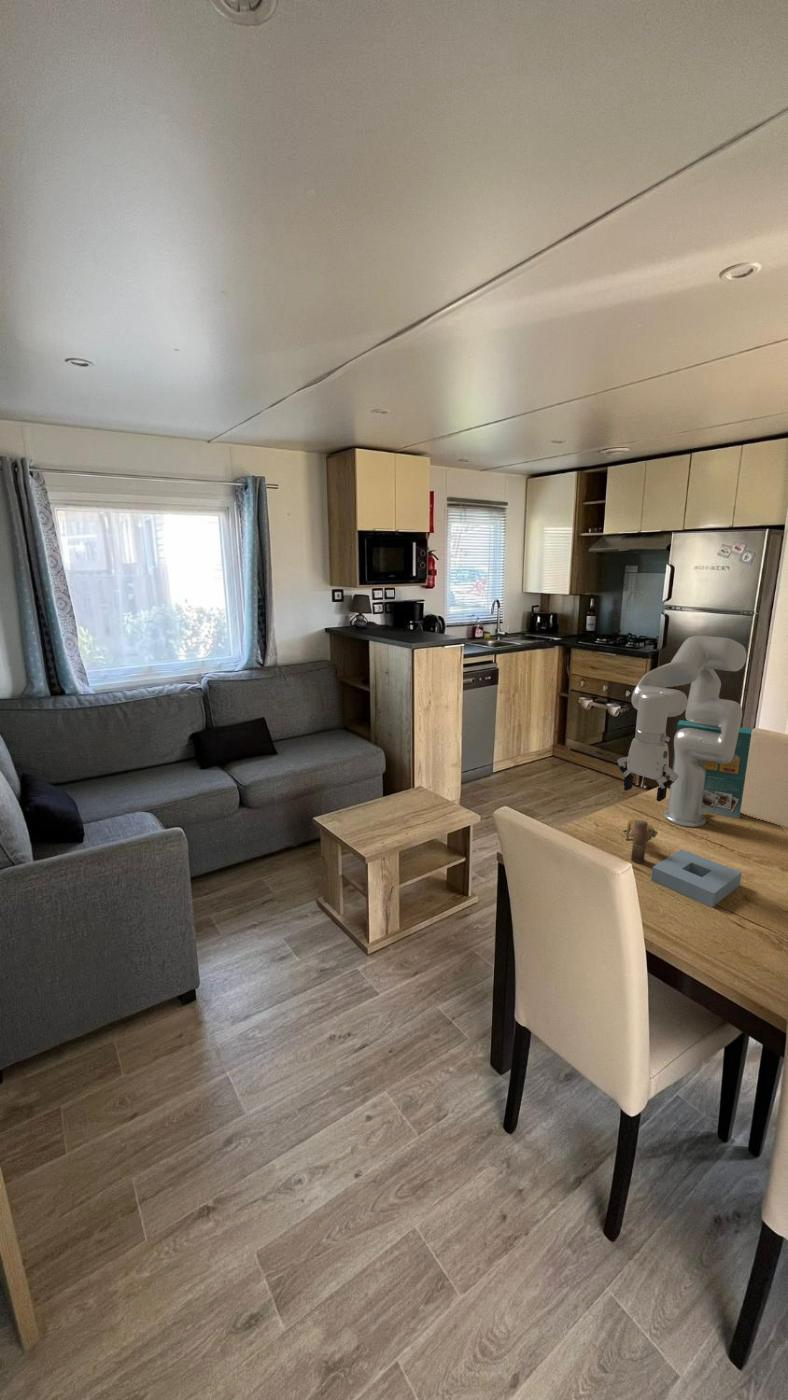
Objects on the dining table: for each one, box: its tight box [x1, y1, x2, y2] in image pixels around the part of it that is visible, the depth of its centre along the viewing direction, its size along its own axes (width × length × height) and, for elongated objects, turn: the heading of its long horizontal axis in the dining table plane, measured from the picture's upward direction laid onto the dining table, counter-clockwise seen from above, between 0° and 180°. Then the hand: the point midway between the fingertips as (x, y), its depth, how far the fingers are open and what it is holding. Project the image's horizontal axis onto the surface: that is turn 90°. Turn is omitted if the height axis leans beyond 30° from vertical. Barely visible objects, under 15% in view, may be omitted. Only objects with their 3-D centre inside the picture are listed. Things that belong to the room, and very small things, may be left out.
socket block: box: [650, 849, 742, 908], centre depth 152 cm, size 16×16×4 cm
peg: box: [630, 819, 649, 865], centre depth 163 cm, size 3×3×12 cm
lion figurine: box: [622, 818, 659, 850], centre depth 173 cm, size 15×5×9 cm, turn 9°
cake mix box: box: [668, 719, 753, 819], centre depth 195 cm, size 22×6×30 cm, turn 57°
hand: (643, 794), depth 160 cm, fingers open, 9 cm apart
